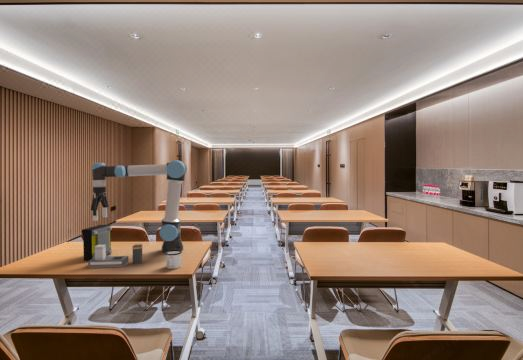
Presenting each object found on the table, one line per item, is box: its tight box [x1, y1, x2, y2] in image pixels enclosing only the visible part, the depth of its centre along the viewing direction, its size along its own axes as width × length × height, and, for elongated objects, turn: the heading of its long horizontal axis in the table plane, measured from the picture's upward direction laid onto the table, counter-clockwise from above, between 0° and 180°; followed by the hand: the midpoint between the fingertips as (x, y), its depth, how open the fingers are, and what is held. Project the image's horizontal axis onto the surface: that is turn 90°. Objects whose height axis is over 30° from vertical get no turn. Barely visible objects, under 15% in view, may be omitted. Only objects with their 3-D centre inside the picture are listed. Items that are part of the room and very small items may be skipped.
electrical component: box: [80, 224, 113, 262], centre depth 202 cm, size 18×10×20 cm, turn 168°
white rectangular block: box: [95, 245, 106, 260], centre depth 186 cm, size 5×5×11 cm
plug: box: [132, 243, 143, 265], centre depth 191 cm, size 5×5×11 cm
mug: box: [164, 250, 183, 270], centre depth 181 cm, size 12×10×9 cm
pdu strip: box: [87, 255, 130, 269], centre depth 186 cm, size 20×9×4 cm, turn 96°
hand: (100, 218), depth 199 cm, fingers open, 13 cm apart
